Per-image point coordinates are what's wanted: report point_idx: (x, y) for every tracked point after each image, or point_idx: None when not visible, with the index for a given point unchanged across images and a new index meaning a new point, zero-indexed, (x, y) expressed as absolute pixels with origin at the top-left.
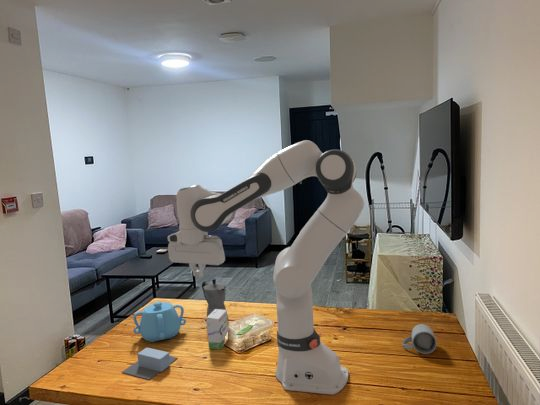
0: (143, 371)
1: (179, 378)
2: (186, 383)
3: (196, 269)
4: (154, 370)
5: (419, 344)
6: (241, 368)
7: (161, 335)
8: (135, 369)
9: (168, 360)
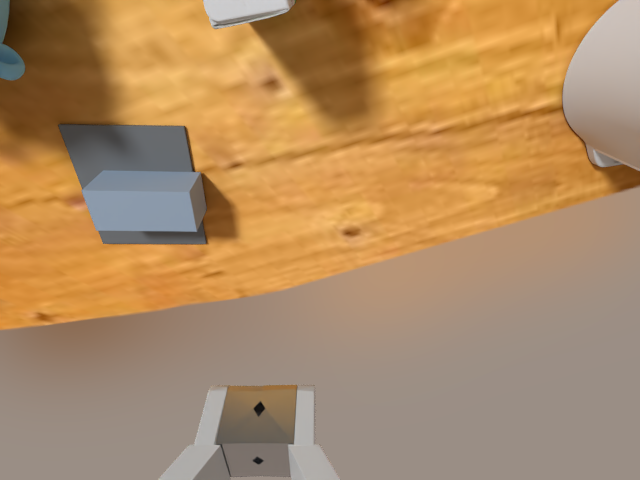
0: None
1: (277, 212)
2: (311, 222)
3: (215, 463)
4: None
5: None
6: (435, 106)
7: (15, 77)
8: None
9: (196, 187)
